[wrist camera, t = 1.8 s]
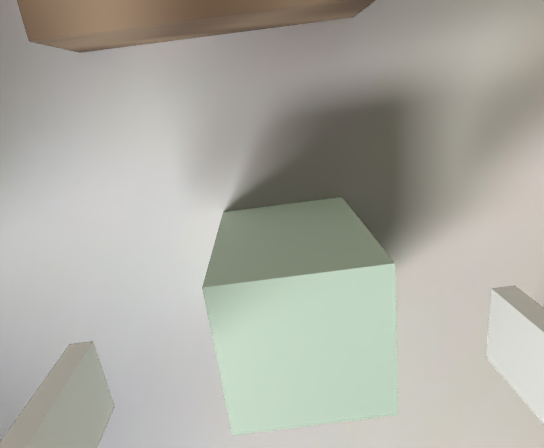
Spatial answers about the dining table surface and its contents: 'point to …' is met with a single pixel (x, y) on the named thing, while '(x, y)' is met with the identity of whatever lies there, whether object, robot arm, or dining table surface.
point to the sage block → (302, 317)
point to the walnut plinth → (166, 19)
